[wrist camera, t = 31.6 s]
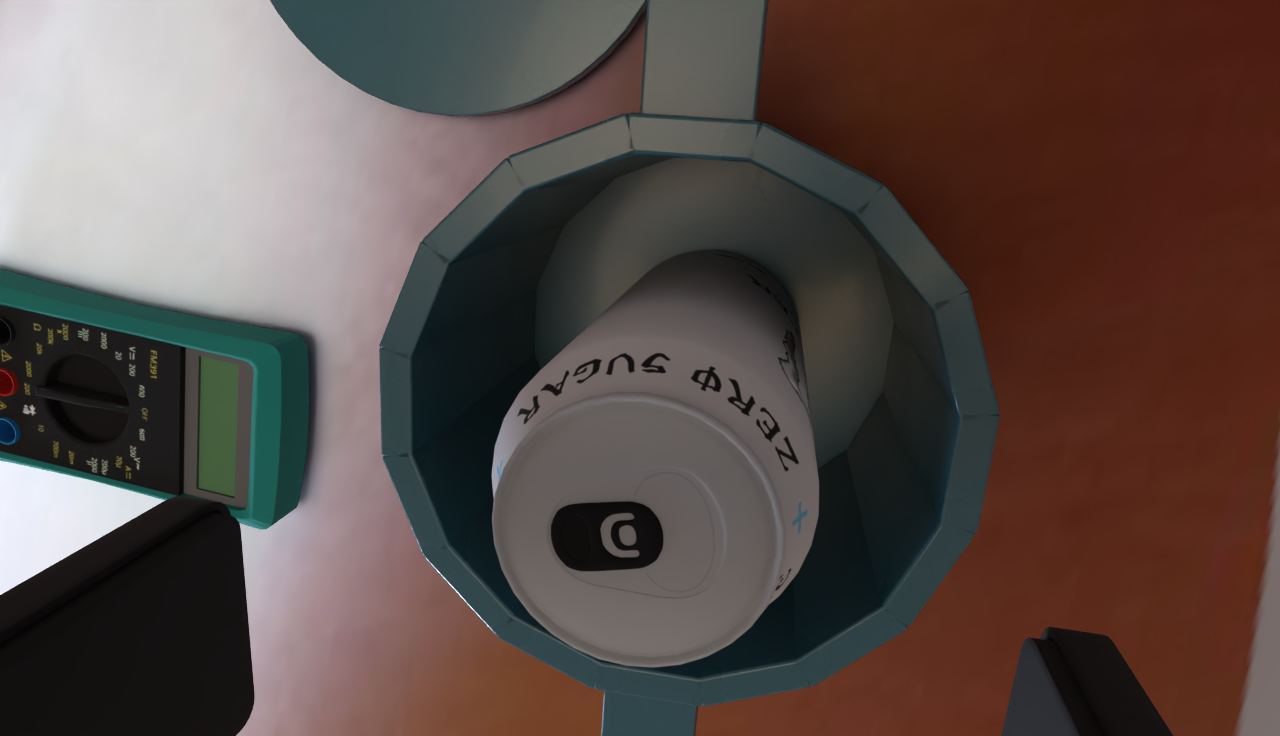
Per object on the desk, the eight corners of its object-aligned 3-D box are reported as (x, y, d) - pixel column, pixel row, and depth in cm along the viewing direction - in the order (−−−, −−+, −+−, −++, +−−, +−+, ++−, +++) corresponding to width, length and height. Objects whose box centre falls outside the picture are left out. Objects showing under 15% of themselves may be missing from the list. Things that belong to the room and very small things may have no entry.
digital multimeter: (-27, 256, 32) (-104, 266, 29) (321, 333, 30) (274, 352, 27) (-15, 427, 34) (-87, 452, 31) (311, 507, 32) (266, 542, 30)
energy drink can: (807, 413, 27) (839, 697, 13) (635, 426, 29) (491, 700, 14) (791, 236, 26) (807, 339, 12) (610, 257, 27) (425, 374, 13)
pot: (959, 51, 24) (1086, -19, 14) (870, 606, 29) (917, 840, 19) (525, 30, 26) (369, -45, 16) (511, 555, 31) (386, 743, 21)
